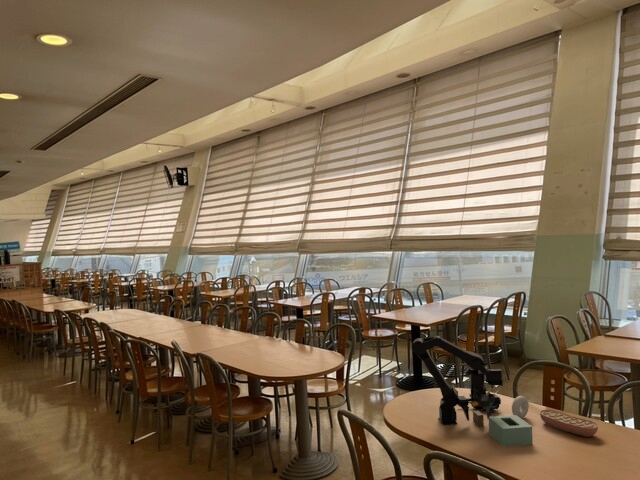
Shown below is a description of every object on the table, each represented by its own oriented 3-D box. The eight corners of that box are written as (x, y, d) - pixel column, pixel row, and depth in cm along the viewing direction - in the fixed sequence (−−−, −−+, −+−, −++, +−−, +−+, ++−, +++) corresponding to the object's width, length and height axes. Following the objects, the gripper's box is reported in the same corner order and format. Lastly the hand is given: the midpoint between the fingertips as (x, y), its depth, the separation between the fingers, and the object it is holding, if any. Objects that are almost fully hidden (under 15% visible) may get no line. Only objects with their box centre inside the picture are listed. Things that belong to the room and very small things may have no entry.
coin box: (503, 446, 181) (502, 428, 181) (489, 433, 193) (488, 416, 193) (532, 444, 183) (532, 426, 183) (516, 431, 195) (516, 415, 194)
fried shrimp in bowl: (503, 405, 213) (464, 392, 215) (494, 422, 217) (456, 409, 219) (500, 391, 221) (463, 378, 223) (492, 408, 226) (455, 395, 228)
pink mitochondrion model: (602, 436, 188) (602, 424, 188) (590, 443, 183) (590, 430, 183) (547, 419, 207) (547, 408, 207) (534, 424, 202) (534, 413, 202)
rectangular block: (478, 426, 201) (477, 415, 201) (473, 422, 206) (472, 411, 206) (483, 426, 201) (483, 414, 201) (478, 422, 206) (478, 410, 206)
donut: (517, 422, 204) (516, 399, 204) (510, 419, 207) (509, 397, 207) (530, 416, 210) (530, 394, 210) (523, 414, 213) (523, 392, 213)
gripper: (464, 391, 194) (465, 428, 194) (506, 388, 196) (507, 425, 196) (453, 383, 205) (454, 418, 205) (494, 380, 207) (495, 415, 207)
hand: (478, 419), depth 203 cm, fingers open, 9 cm apart
